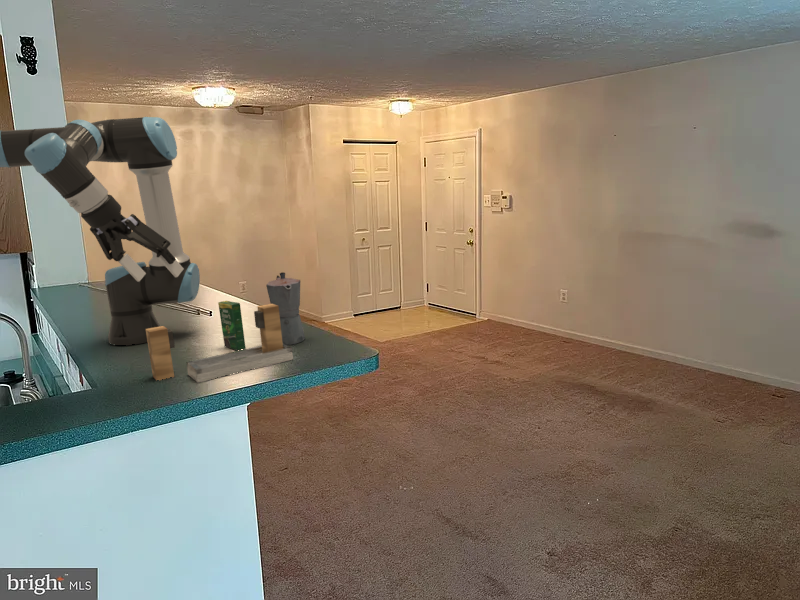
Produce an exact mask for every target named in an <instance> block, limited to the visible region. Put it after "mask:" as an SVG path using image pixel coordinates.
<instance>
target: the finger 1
mask: <svg viewBox="0 0 800 600" xmlns="http://www.w3.org/2000/svg"><path fill="white" fill-rule="evenodd" d="M146 335H147V342H146V343H147V347H148V353H149V354H148V355H149V360H150V366H151V372H152V378H153V379H155V381H157V380H159V381H162V379H163V380H167V379H171V378H170V377H172V378H175V373H174V365H173V359H172V353H171V352H172V351H171V349H175V348H176V346H175V339H174V333H173V330H171V329H168V328H167V327H166V326H164V325H162V326H161V325H160V327H154V328H149V329H146ZM166 378H167V379H166Z"/></svg>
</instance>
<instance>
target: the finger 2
mask: <svg viewBox="0 0 800 600" xmlns="http://www.w3.org/2000/svg"><path fill="white" fill-rule="evenodd" d="M256 306H257V307H256V308H257V310H254V311H253V317H254V324H255V327H256V328H258V329H259V333H260V342H261V345H262V352H268V351H273V350H277V349H281V348H283V343H282V334H281V324H280V315H279V306H278V305H275V304H271V303H268V304H263V305H256Z"/></svg>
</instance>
